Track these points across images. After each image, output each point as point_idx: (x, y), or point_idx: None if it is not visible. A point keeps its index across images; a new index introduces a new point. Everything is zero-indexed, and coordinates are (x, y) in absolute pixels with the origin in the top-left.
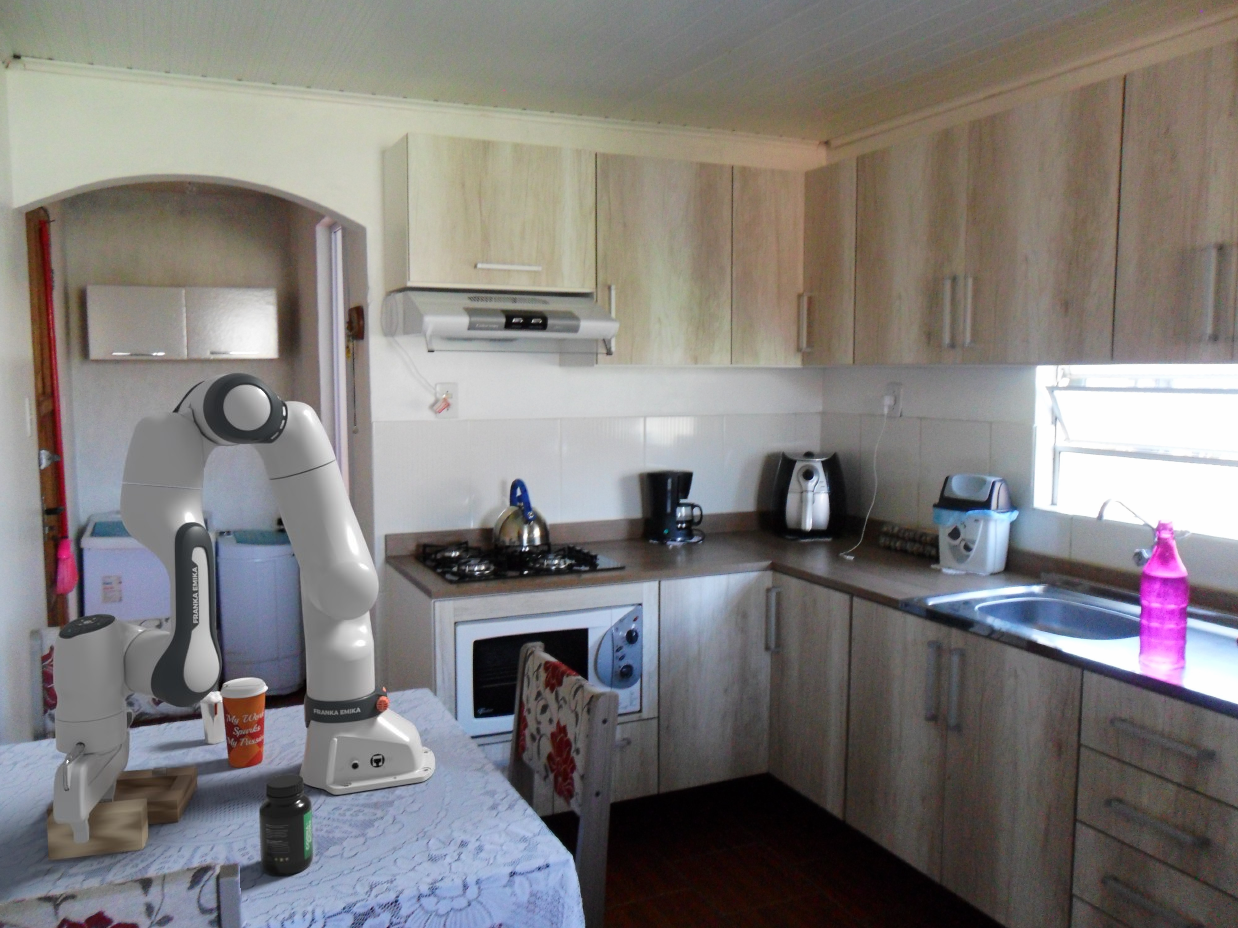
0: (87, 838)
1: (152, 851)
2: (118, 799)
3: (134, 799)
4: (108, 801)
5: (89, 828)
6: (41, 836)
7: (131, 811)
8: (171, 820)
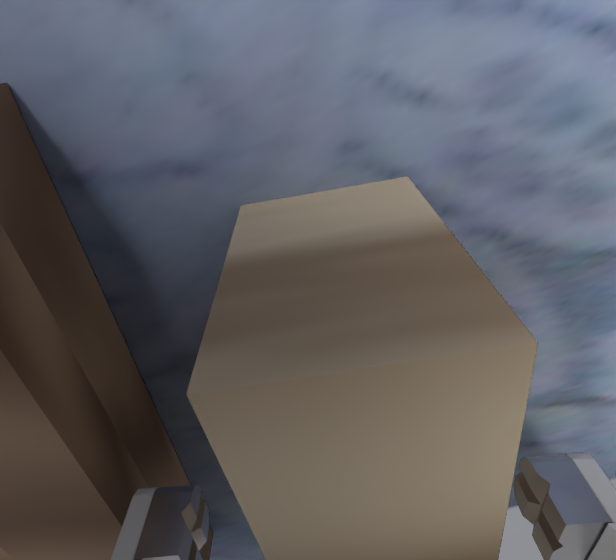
0: (599, 467)
1: (454, 99)
2: (31, 500)
3: (226, 472)
4: (182, 557)
5: (594, 516)
6: (242, 535)
7: (518, 408)
8: (20, 133)
